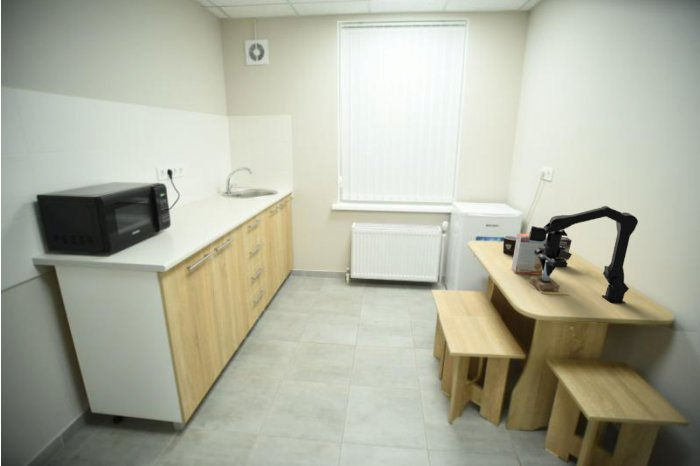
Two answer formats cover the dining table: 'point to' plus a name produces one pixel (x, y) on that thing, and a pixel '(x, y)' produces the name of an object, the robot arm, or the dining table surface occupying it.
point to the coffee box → (565, 245)
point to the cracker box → (527, 255)
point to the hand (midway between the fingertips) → (546, 274)
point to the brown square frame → (544, 284)
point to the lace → (553, 293)
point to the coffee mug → (509, 245)
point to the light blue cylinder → (545, 273)
